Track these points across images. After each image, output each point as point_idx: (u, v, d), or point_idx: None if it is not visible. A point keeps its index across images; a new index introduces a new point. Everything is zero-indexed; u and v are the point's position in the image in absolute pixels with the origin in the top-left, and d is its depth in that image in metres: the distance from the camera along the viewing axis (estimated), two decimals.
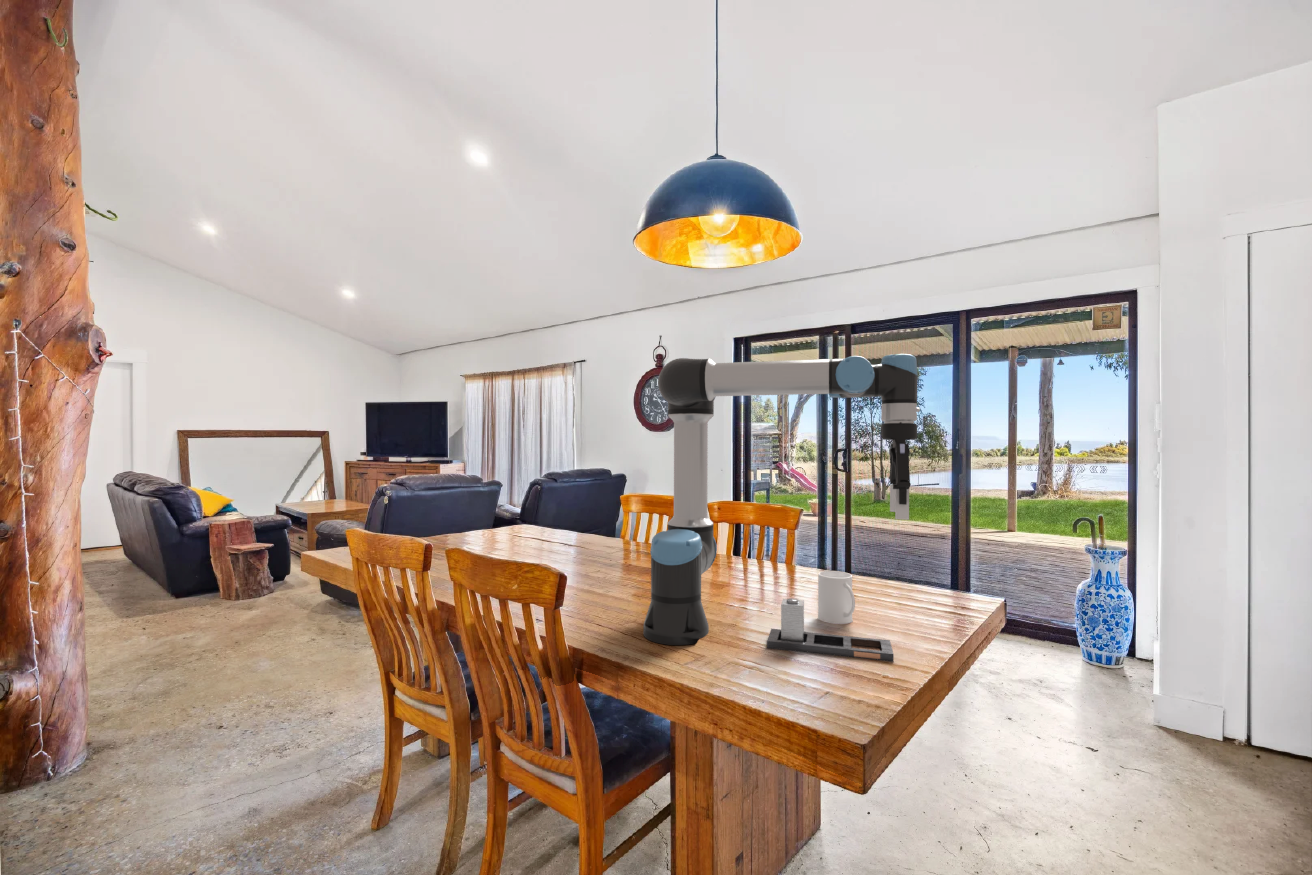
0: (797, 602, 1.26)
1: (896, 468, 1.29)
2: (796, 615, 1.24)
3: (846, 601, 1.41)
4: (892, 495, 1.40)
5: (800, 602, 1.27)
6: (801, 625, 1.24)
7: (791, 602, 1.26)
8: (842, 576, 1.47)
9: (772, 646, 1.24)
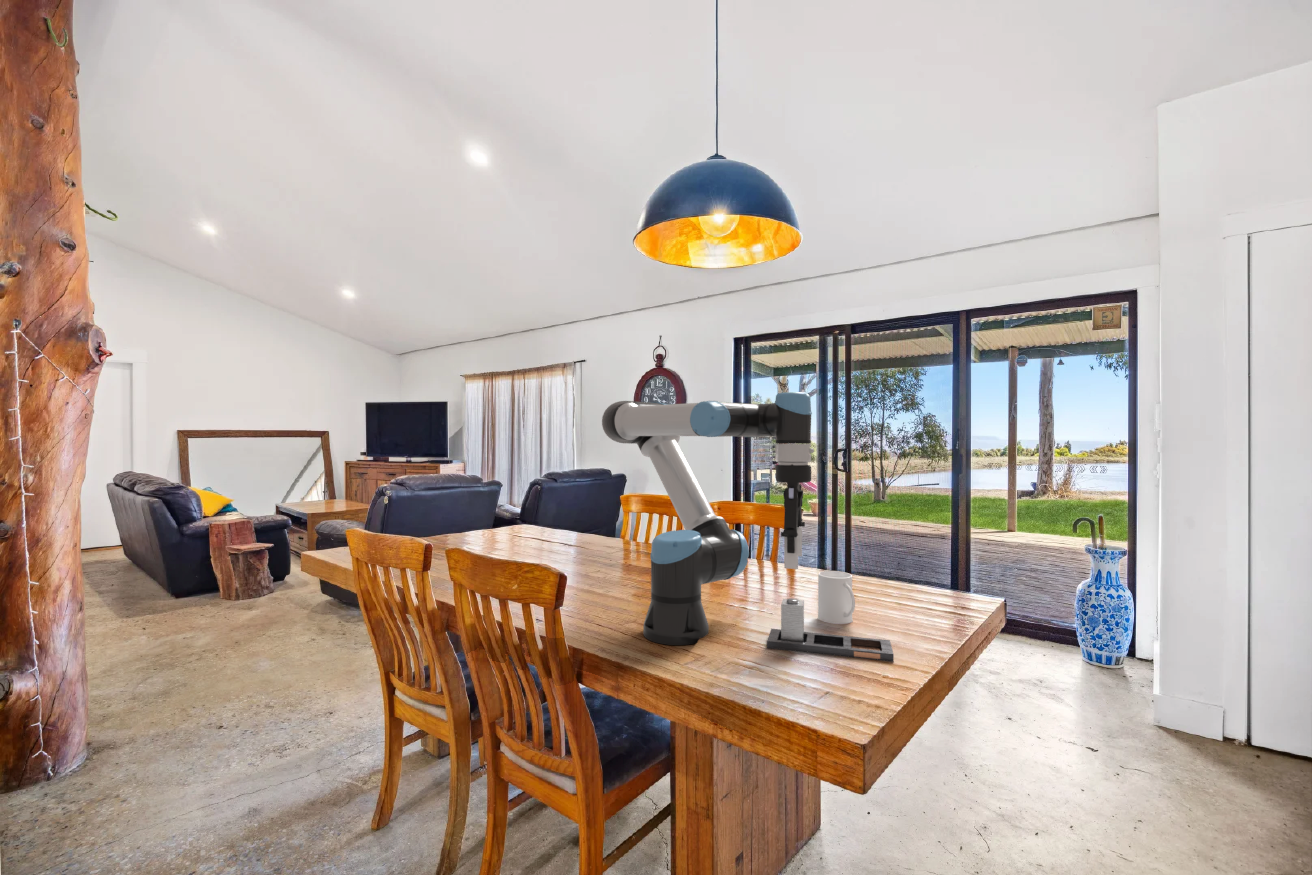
0: (797, 602, 1.26)
1: None
2: (796, 615, 1.24)
3: (846, 601, 1.41)
4: None
5: (800, 602, 1.27)
6: (801, 625, 1.24)
7: (791, 602, 1.26)
8: (842, 576, 1.47)
9: (772, 646, 1.24)
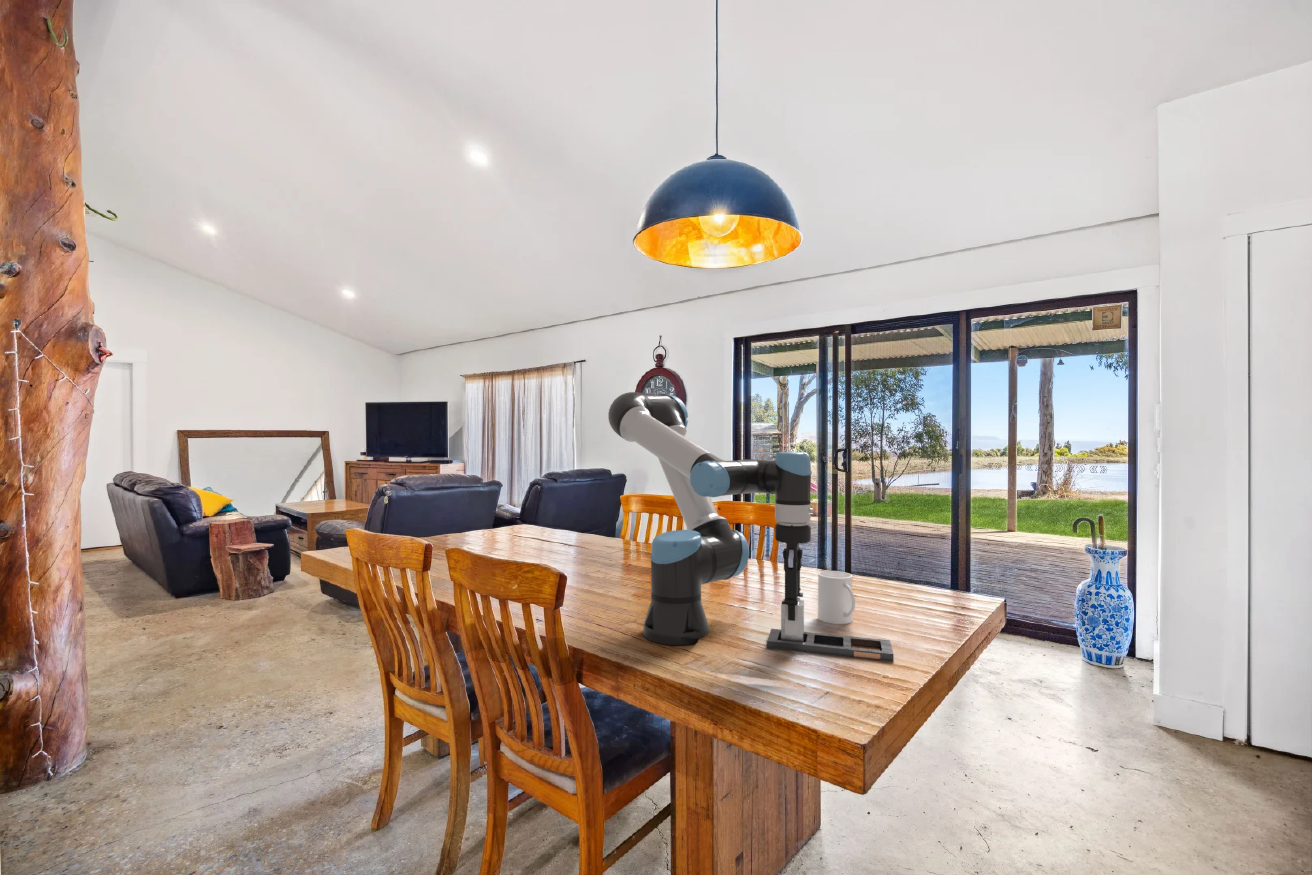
0: None
1: None
2: None
3: (846, 601, 1.41)
4: None
5: (800, 602, 1.27)
6: (801, 625, 1.24)
7: None
8: (842, 576, 1.47)
9: (772, 646, 1.24)
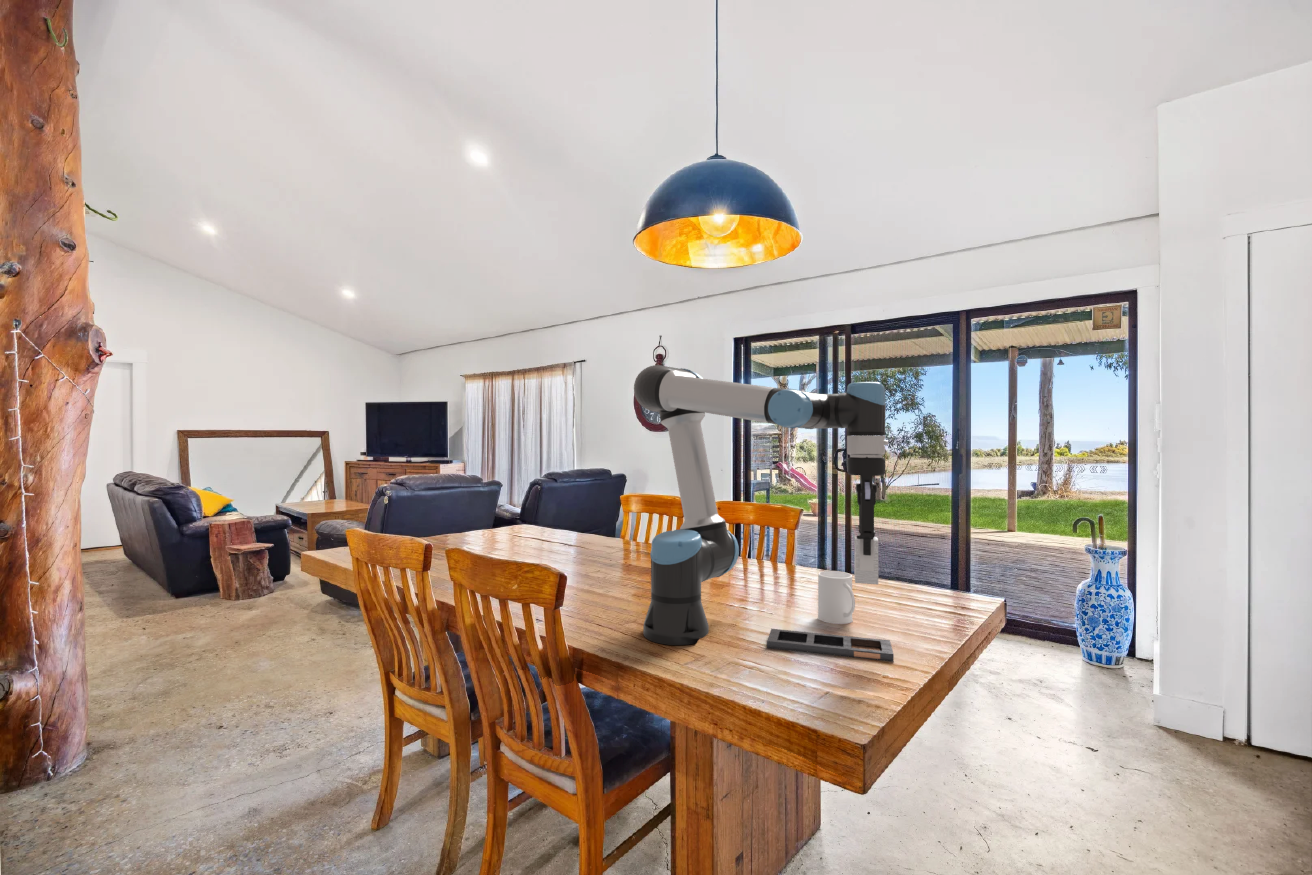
0: None
1: None
2: None
3: (846, 601, 1.41)
4: None
5: (874, 538, 1.22)
6: (877, 560, 1.19)
7: None
8: (842, 576, 1.47)
9: (772, 646, 1.24)
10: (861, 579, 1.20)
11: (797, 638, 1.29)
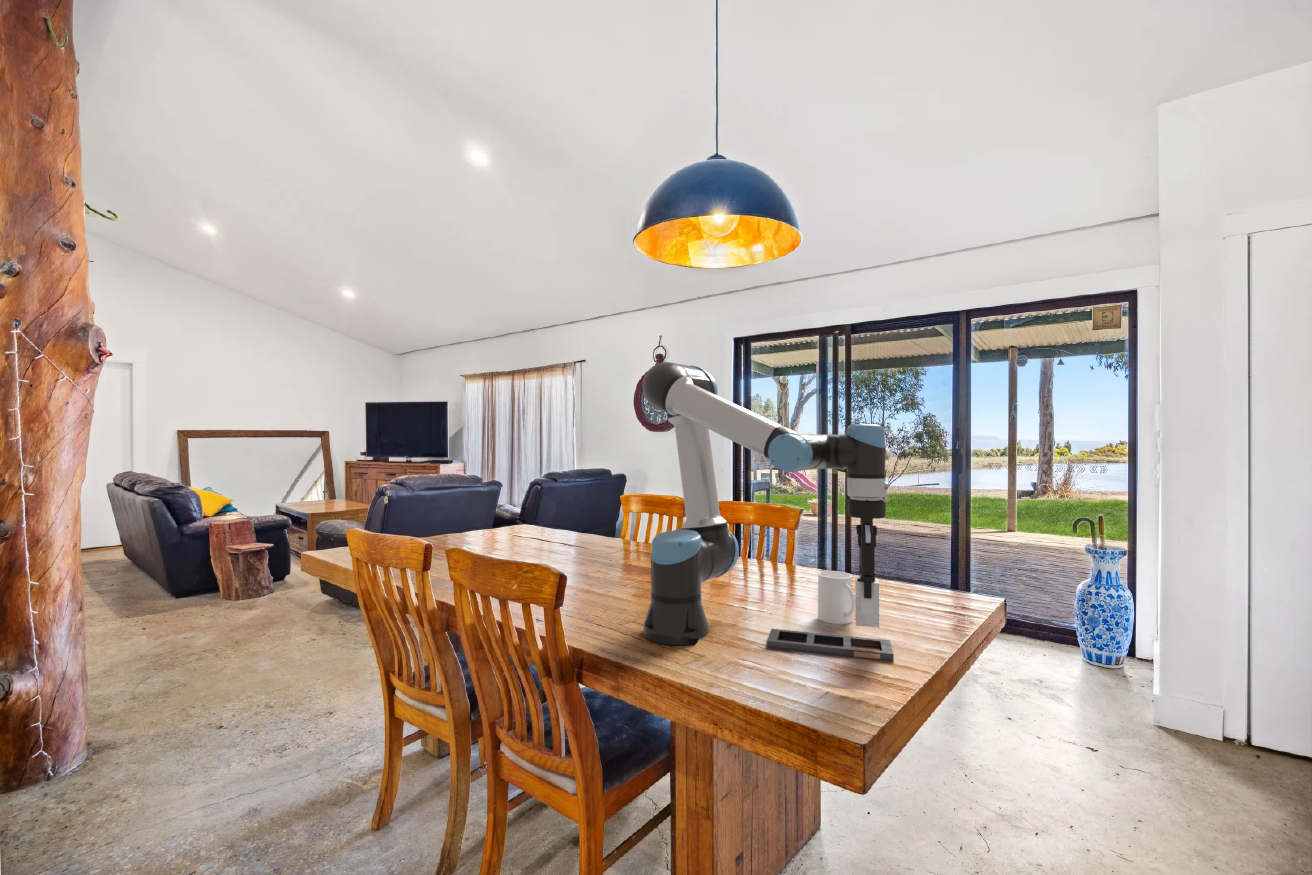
0: None
1: (861, 556, 1.19)
2: None
3: (846, 601, 1.41)
4: None
5: None
6: (877, 603, 1.19)
7: None
8: (842, 576, 1.47)
9: (772, 646, 1.24)
10: (862, 622, 1.20)
11: (797, 638, 1.29)
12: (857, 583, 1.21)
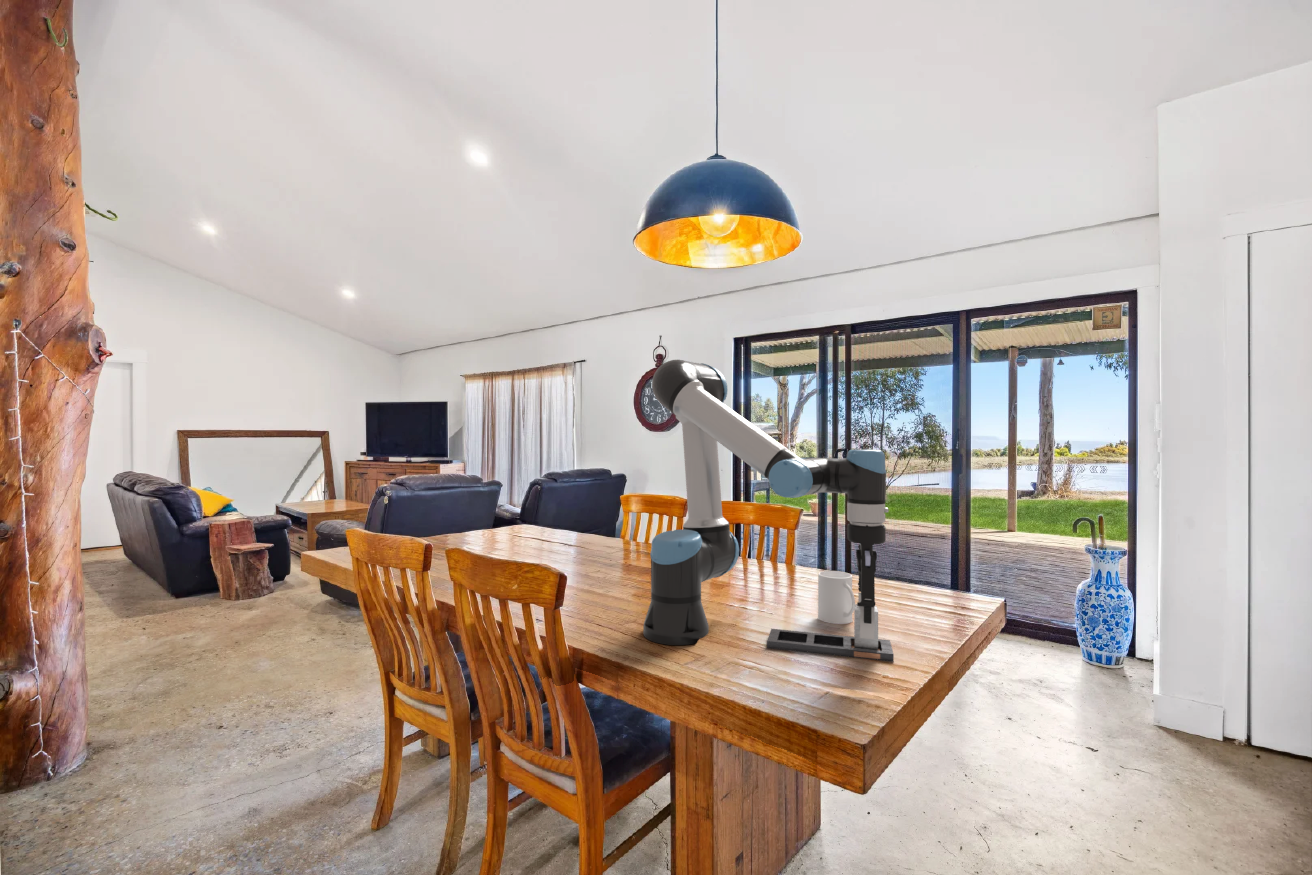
0: None
1: None
2: None
3: (846, 601, 1.41)
4: None
5: None
6: (876, 632, 1.19)
7: None
8: (842, 576, 1.47)
9: (772, 646, 1.24)
10: None
11: (797, 638, 1.29)
12: (856, 611, 1.21)
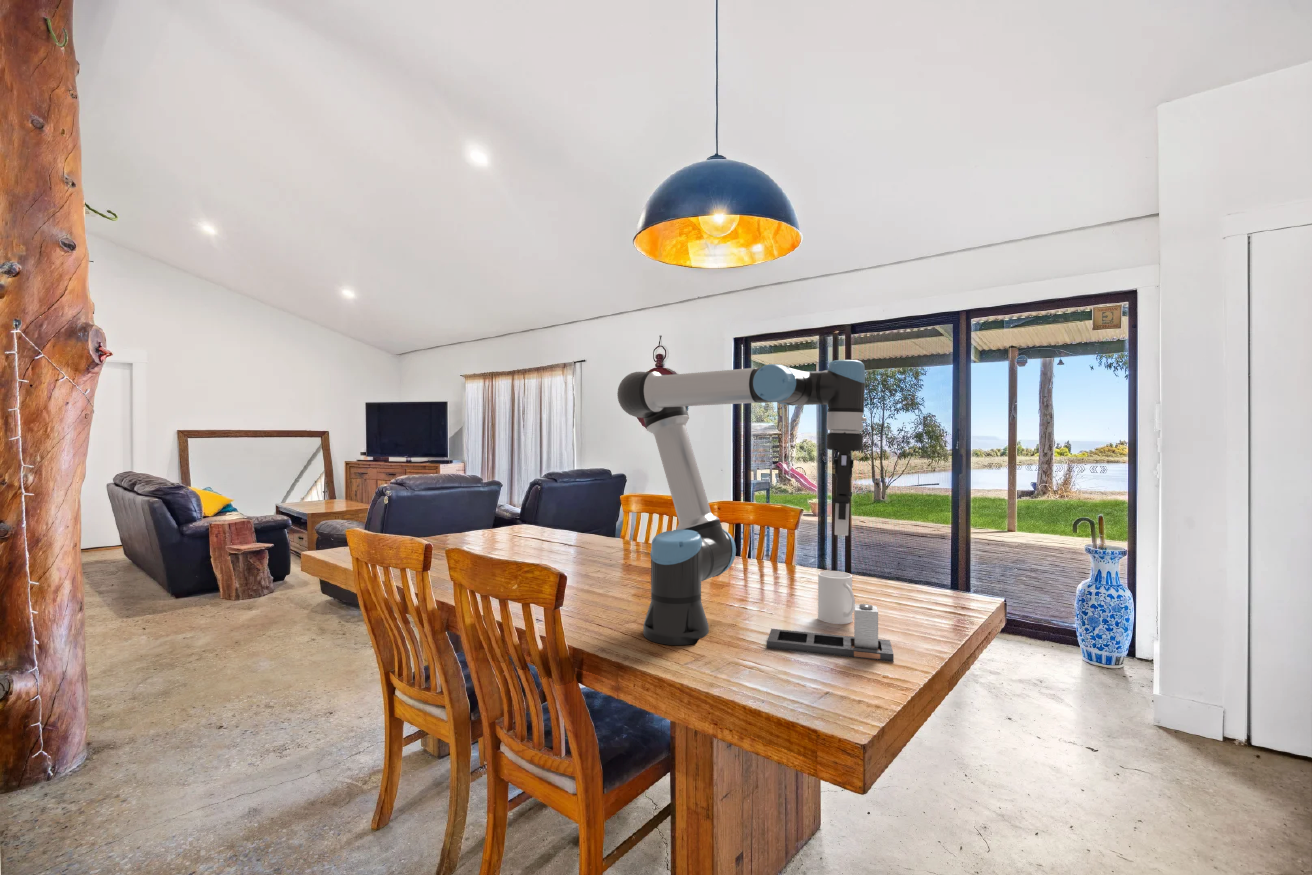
0: (871, 608, 1.21)
1: None
2: (871, 621, 1.20)
3: (846, 601, 1.41)
4: None
5: (874, 608, 1.22)
6: (876, 632, 1.19)
7: (865, 608, 1.21)
8: (842, 576, 1.47)
9: (772, 646, 1.24)
10: None
11: (797, 638, 1.29)
12: (856, 611, 1.21)
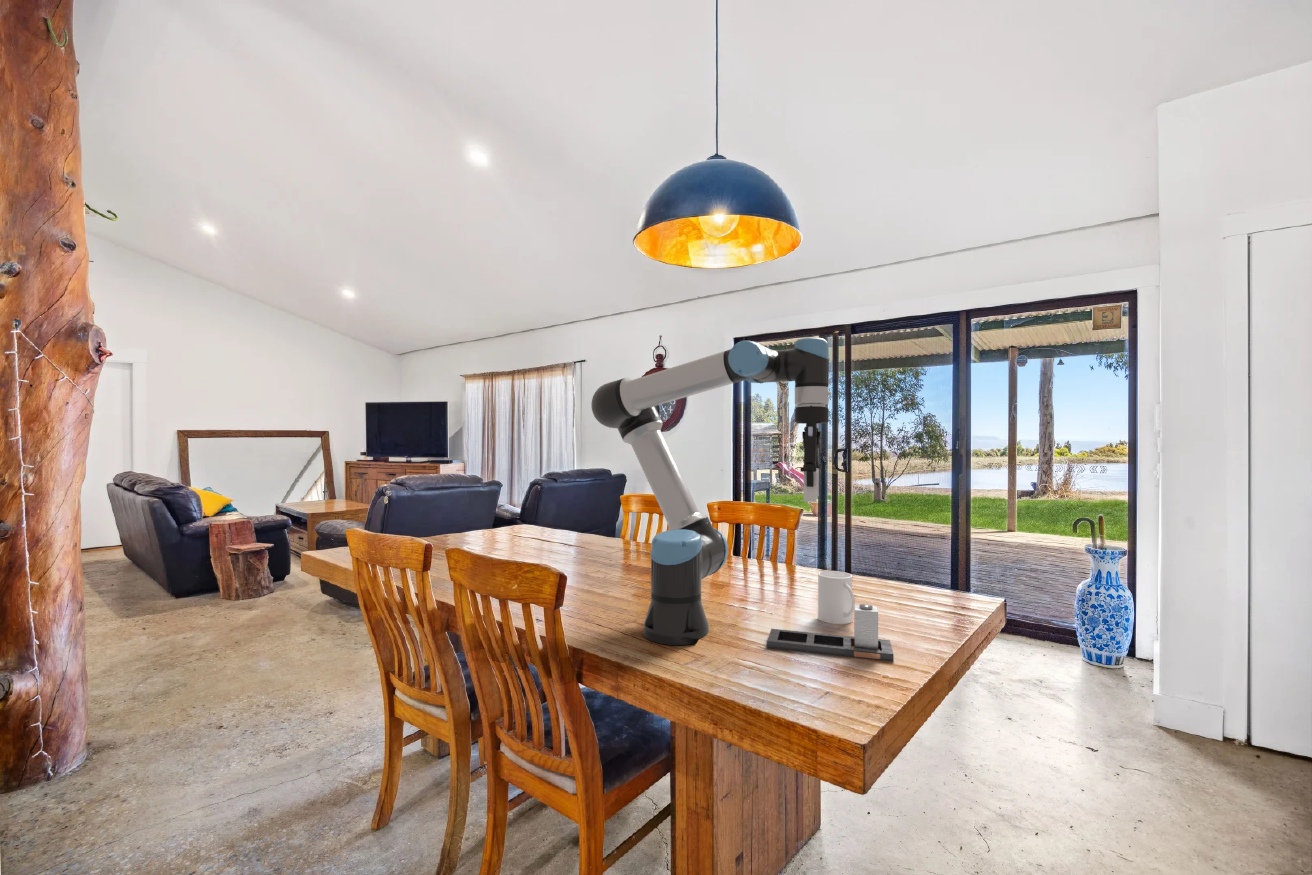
0: (871, 608, 1.21)
1: None
2: (871, 621, 1.20)
3: (846, 601, 1.41)
4: None
5: (874, 608, 1.22)
6: (876, 632, 1.19)
7: (865, 608, 1.21)
8: (842, 576, 1.47)
9: (772, 646, 1.24)
10: None
11: (797, 638, 1.29)
12: (856, 611, 1.21)
